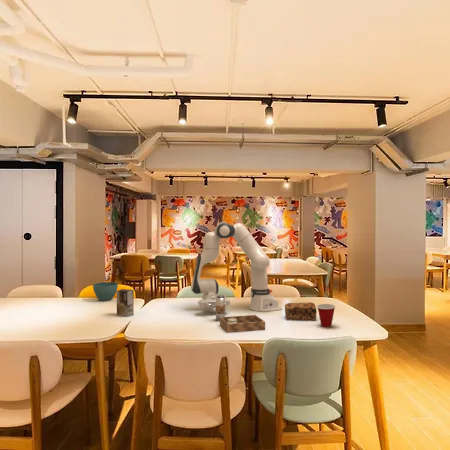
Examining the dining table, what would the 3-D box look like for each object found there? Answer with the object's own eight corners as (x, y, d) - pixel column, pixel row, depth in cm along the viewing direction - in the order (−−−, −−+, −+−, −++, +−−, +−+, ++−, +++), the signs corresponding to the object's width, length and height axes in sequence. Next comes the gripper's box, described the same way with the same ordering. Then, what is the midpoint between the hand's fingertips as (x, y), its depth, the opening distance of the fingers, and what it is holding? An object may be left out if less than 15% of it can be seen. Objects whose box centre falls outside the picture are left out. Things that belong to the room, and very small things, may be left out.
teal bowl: (113, 302, 280) (113, 286, 280) (89, 302, 280) (89, 286, 280) (120, 297, 298) (120, 282, 298) (97, 297, 299) (97, 282, 298)
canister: (223, 318, 235) (223, 295, 235) (226, 321, 230) (226, 296, 230) (214, 319, 234) (214, 295, 234) (217, 321, 228) (217, 297, 228)
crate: (255, 322, 227) (255, 314, 227) (265, 329, 212) (265, 321, 212) (219, 324, 221) (219, 317, 221) (227, 332, 206) (227, 324, 206)
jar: (235, 327, 216) (235, 317, 216) (237, 330, 211) (238, 320, 211) (226, 328, 215) (226, 318, 215) (229, 330, 210) (229, 320, 210)
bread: (314, 316, 241) (314, 301, 241) (316, 321, 231) (316, 305, 231) (284, 316, 243) (284, 300, 243) (285, 320, 232) (286, 304, 232)
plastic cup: (312, 324, 223) (312, 304, 223) (327, 322, 227) (327, 302, 227) (324, 329, 213) (324, 308, 213) (339, 327, 217) (339, 306, 217)
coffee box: (134, 314, 244) (134, 289, 244) (127, 317, 239) (127, 291, 238) (122, 313, 248) (122, 288, 248) (116, 315, 242) (116, 290, 242)
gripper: (196, 297, 249) (201, 301, 236) (226, 295, 255) (232, 299, 241) (196, 306, 249) (201, 311, 236) (226, 304, 255) (232, 309, 241)
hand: (217, 305), depth 239 cm, fingers open, 8 cm apart
